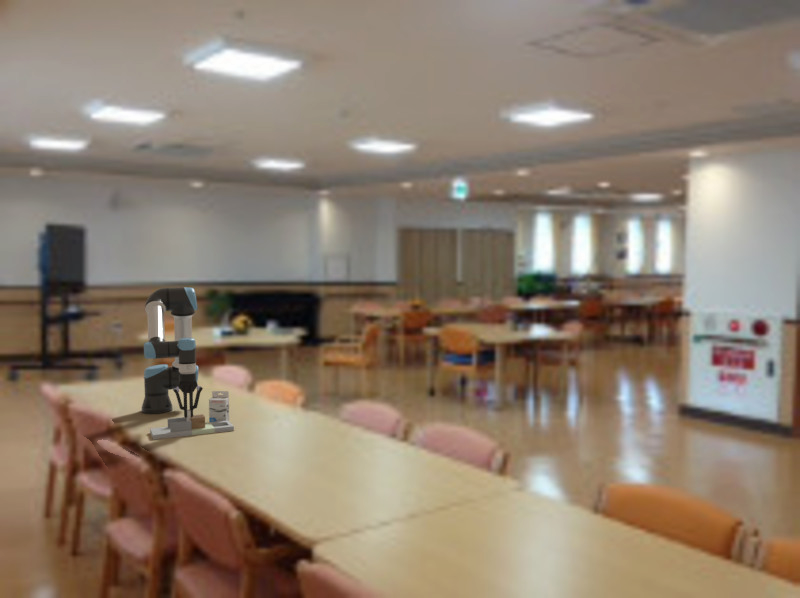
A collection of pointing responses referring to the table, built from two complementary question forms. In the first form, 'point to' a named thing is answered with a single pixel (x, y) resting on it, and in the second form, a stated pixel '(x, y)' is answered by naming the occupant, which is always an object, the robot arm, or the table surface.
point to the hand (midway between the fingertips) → (188, 424)
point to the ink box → (219, 406)
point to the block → (198, 421)
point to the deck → (188, 428)
